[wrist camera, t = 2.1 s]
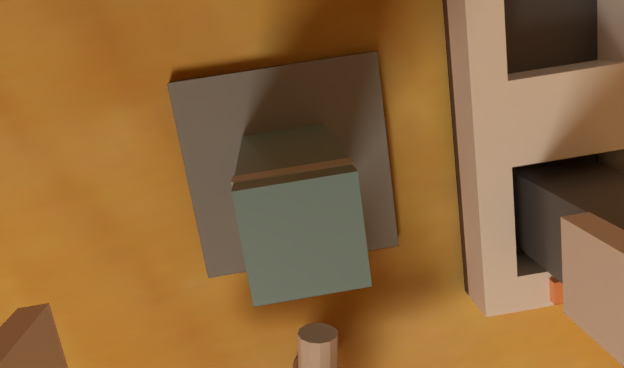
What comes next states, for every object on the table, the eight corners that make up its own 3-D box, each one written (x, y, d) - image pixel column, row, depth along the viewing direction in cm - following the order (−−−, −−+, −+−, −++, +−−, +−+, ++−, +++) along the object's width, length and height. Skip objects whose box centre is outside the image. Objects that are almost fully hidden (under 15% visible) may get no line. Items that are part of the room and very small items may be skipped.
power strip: (436, -82, 26) (462, -100, 22) (624, -109, 26) (677, -130, 23) (465, 290, 31) (490, 322, 27) (621, 263, 31) (665, 291, 28)
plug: (241, 135, 27) (229, 190, 17) (324, 121, 27) (359, 169, 18) (255, 214, 28) (252, 308, 18) (335, 201, 28) (373, 287, 19)
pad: (168, 82, 27) (167, 83, 26) (375, 51, 27) (377, 51, 27) (209, 274, 29) (208, 278, 29) (396, 242, 30) (398, 245, 29)
